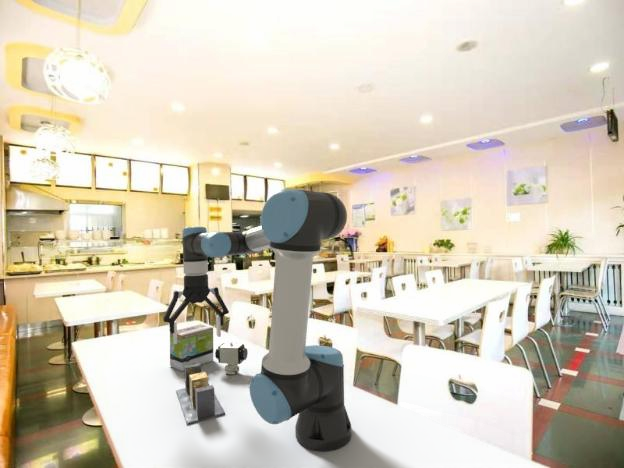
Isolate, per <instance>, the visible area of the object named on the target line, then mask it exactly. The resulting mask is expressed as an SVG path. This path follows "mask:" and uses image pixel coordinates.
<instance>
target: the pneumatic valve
mask: <svg viewBox="0 0 624 468" xmlns="http://www.w3.org/2000/svg"><path fill="white" fill-rule="evenodd" d="M214 355H215V358H216V359H217V361H218V364H225V366H224V372H225V374H226V375H231V376H232V375H233V376H234V375H236V373H239V372H240V366H239V365H241V364H242V363H243V362H244V361H246V360H247V358H248V349H247V348H246V347H245V344H244V343H233V342H229V343H228V342H227V343H222V344H221V345H219V346H218V347H217V348H216V349H215V353H214Z"/></svg>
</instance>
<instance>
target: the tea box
mask: <svg viewBox="0 0 624 468" xmlns="http://www.w3.org/2000/svg"><path fill="white" fill-rule="evenodd" d="M213 361H214V327H212V326H208V325H204V324H201V323H200V324H196V325H193V326H188V327H184V328H180V329H177V344H174V336H173V333H170V332H169V366H170V367H172V368H173V369H176V370H179V371H181V372H185V366H187V365H192V364H197V363H200V365H201V366H202V365H204V364H206V363H210V362H213Z"/></svg>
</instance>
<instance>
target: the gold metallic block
mask: <svg viewBox="0 0 624 468" xmlns="http://www.w3.org/2000/svg"><path fill="white" fill-rule="evenodd" d="M189 381H190V400H191V403H192V405H196V393H195V389H197V388H202V387H206V386H208V383H209V376H208V375H207V373H206V371H201V373H196V374H192V375H189Z"/></svg>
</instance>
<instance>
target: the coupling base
mask: <svg viewBox="0 0 624 468" xmlns="http://www.w3.org/2000/svg"><path fill="white" fill-rule="evenodd" d="M201 372H202V364H201V365H200V363H197V364H192V365H187V366H185V370H184V381H185V383H184V385H185V386H184V388H180V389H177V390H175V392H176V395H177V398H178V401H179V404H180V407H181V411H182V413H183V417H184V420H185V423H186V425H187V426H188V425H191V424H196V423H198V422H203V421H206V420H210V419H214V418H216V417H221V416H224V415H226V412H225V409H224V408H223V406H222V404H221V403H220V401H219V400H218V397H217V396H216V393H215V387H214V386H213V384H211V385H210V383H209V382H208V386H206V387H202V388H197V389H195V393H196V405H192V403H191V400H190V381H189V375H192V374H196V373H201Z"/></svg>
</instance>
